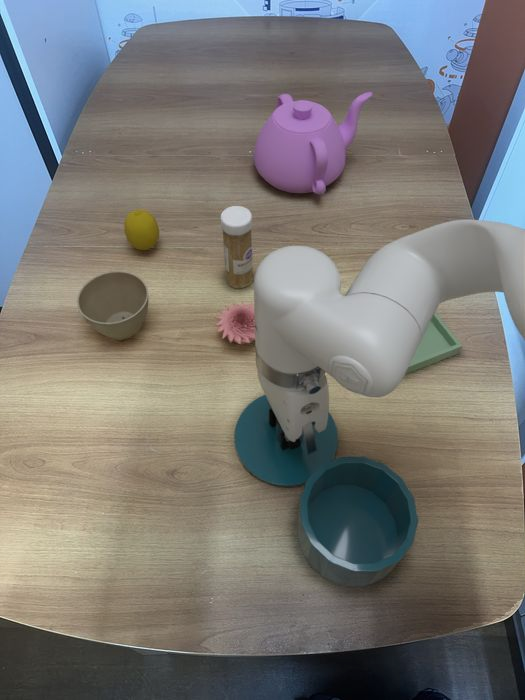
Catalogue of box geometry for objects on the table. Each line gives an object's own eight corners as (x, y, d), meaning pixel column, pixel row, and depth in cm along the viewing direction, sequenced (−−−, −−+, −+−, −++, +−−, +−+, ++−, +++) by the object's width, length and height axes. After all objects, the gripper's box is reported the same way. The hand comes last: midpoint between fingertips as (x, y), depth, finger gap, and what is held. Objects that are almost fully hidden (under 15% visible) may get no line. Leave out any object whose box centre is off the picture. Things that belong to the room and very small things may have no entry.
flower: (272, 354, 80) (273, 331, 75) (218, 361, 79) (215, 339, 74) (264, 313, 84) (264, 289, 79) (213, 319, 83) (210, 295, 79)
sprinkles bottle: (247, 292, 86) (245, 229, 75) (221, 285, 87) (215, 221, 76) (257, 272, 89) (256, 208, 78) (231, 265, 90) (227, 201, 79)
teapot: (386, 191, 101) (401, 123, 89) (277, 219, 96) (279, 151, 85) (337, 127, 112) (345, 59, 101) (238, 149, 108) (235, 81, 97)
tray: (458, 353, 80) (462, 345, 78) (386, 381, 77) (389, 374, 75) (403, 282, 88) (406, 274, 86) (336, 306, 85) (338, 297, 83)
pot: (423, 559, 63) (440, 541, 57) (326, 605, 60) (333, 592, 54) (369, 465, 70) (379, 440, 63) (280, 503, 67) (281, 481, 61)
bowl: (139, 360, 79) (129, 331, 73) (78, 344, 81) (63, 314, 75) (166, 309, 85) (158, 278, 79) (108, 295, 86) (96, 264, 80)
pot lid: (355, 464, 70) (362, 445, 65) (258, 505, 67) (258, 488, 62) (309, 381, 77) (312, 359, 72) (220, 415, 74) (217, 394, 69)
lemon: (152, 263, 90) (144, 226, 84) (123, 254, 91) (113, 218, 85) (168, 241, 93) (160, 204, 87) (140, 233, 94) (130, 196, 88)
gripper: (363, 404, 52) (341, 476, 67) (291, 286, 60) (286, 374, 75) (292, 432, 50) (286, 500, 65) (229, 307, 59) (236, 393, 74)
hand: (286, 432), depth 70 cm, fingers closed on pot lid, 2 cm apart
